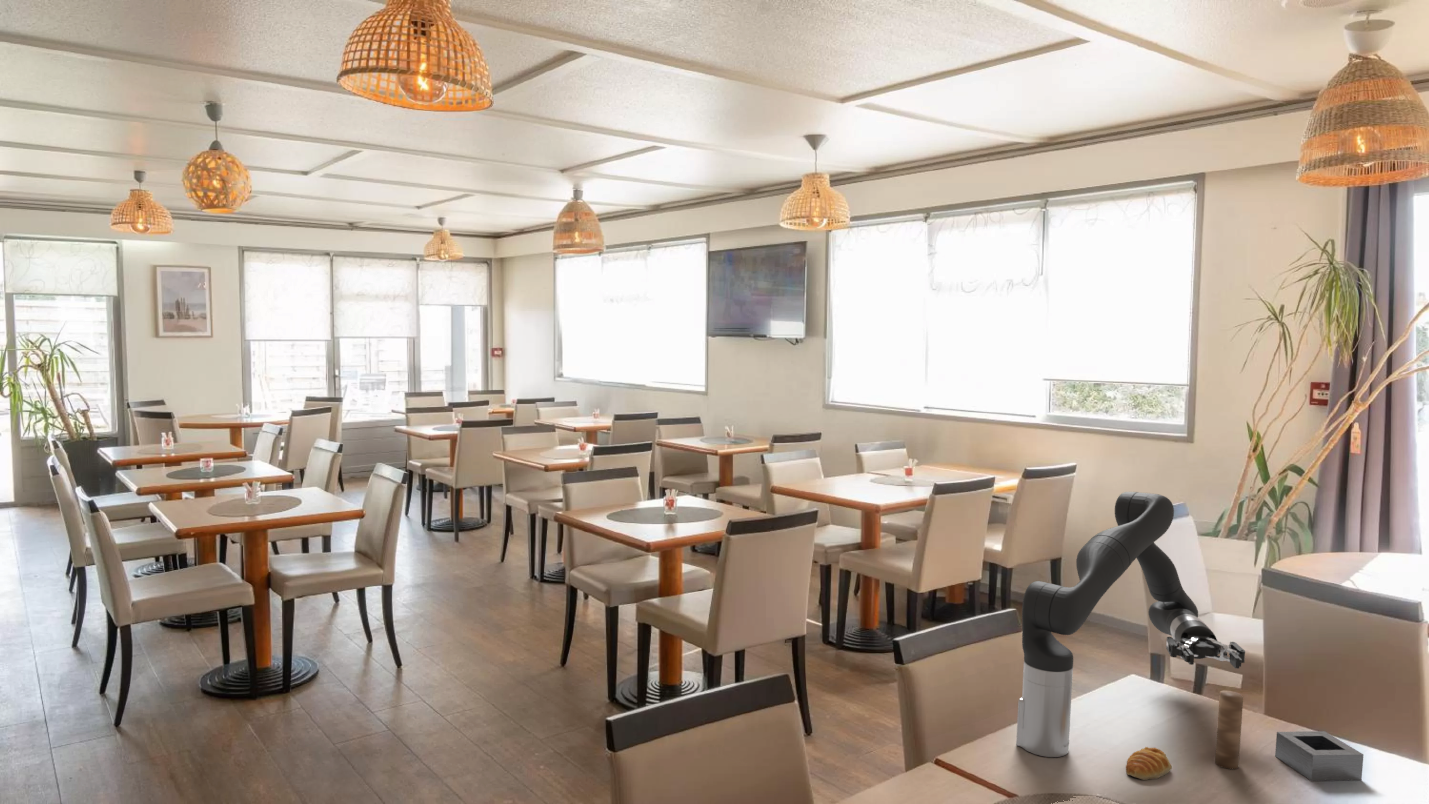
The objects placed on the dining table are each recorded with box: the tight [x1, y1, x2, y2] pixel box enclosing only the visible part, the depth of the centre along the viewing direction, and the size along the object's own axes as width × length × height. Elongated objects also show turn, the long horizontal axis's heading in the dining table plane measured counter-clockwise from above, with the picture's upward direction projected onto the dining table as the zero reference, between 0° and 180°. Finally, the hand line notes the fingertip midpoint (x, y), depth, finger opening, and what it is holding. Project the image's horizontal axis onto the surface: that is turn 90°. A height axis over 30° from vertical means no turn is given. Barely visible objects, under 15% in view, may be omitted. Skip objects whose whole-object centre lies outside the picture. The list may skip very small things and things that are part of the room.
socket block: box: [1274, 730, 1364, 782], centre depth 178 cm, size 10×10×5 cm
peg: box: [1214, 690, 1244, 770], centre depth 178 cm, size 4×4×14 cm
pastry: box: [1125, 746, 1173, 781], centre depth 175 cm, size 9×7×4 cm
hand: (1214, 662), depth 188 cm, fingers open, 8 cm apart
